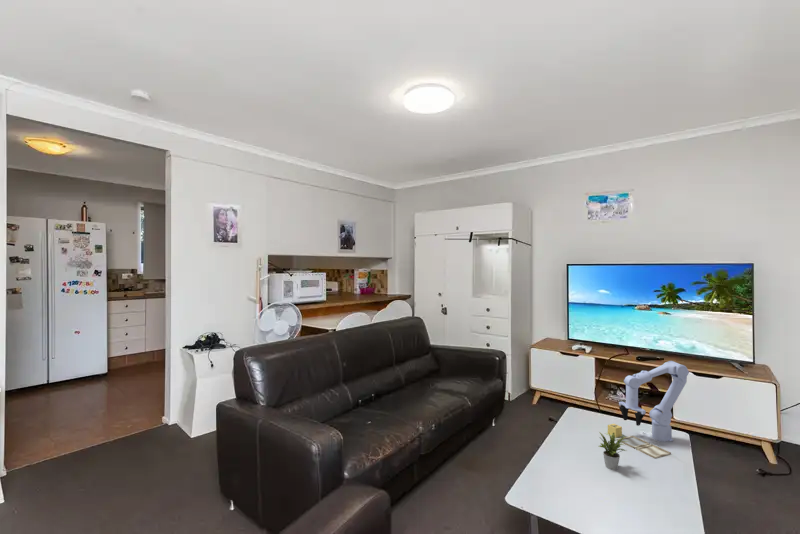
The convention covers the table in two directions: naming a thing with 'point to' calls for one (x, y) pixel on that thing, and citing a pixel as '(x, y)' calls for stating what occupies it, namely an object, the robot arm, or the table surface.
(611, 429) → the letter cube
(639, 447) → the organizer board
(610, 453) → the house plant
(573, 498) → the table surface
